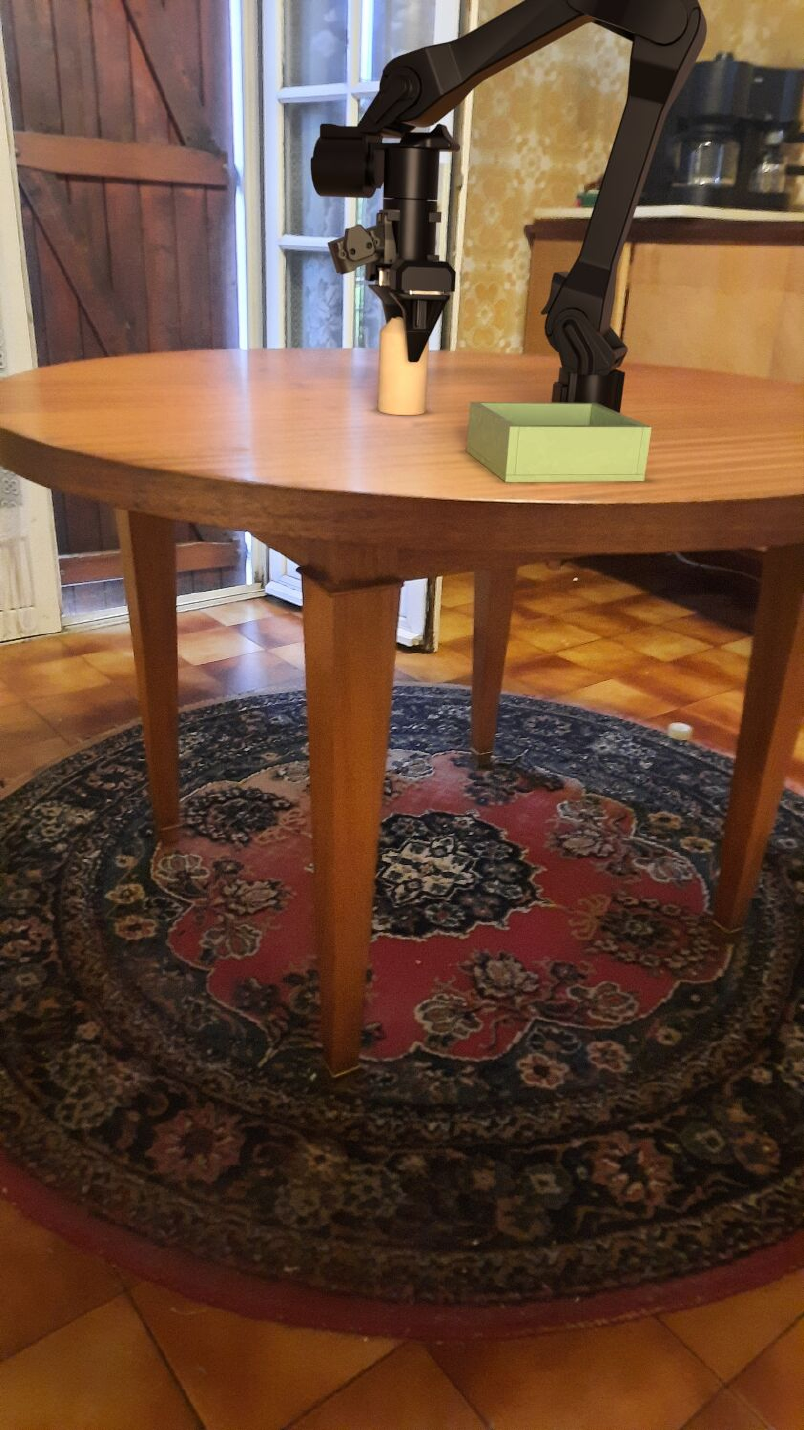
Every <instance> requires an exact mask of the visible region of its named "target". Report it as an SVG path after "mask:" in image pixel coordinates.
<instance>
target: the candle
mask: <svg viewBox="0 0 804 1430" xmlns="http://www.w3.org/2000/svg"><path fill="white" fill-rule="evenodd" d="M429 351H430V339H429V340H428V342H427V344H426V346H425V349H424V351H423V353H422V355H421V357H420V360H419V361H418V362H409V361H408V357H407V349H406V341H405V331H404V322H403V318H401V317H396V318H395V319H394V318H392V319H391V320H390V321H389V322H388V323H387V324H386V323H385V325H384V326H382V328H381V329H380V330H379V341H378V376H377V377H378V378H377V411H378V412H380V413H382V414H389V415H397V416H415V415H423V414H425V413H426V409H427V395H428V394H427V393H428V375H429V374H428V371H429Z"/></svg>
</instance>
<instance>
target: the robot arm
mask: <svg viewBox="0 0 804 1430" xmlns="http://www.w3.org/2000/svg"><path fill="white" fill-rule="evenodd" d="M590 23H591V24H594V25H597V26H599V27H601V28H603V29H605V30H608V32H609V31H610V32H612V33H613V34H616V35H617V36H620V37H621V38H624V39H626V40H628V41H630V42H632V43H631V50H630V57H629V66H628V79H627V93H626V101H625V104H624V107H623V110H622V114H621V117H620V120H619V124H618V127H617V130H616V134H615V137H614V140H613V144H612V146H611V150H610V154H609V157H608V160H607V162H606V165H605V170H604V173H603V176H602V179H601V182H600V186H599V189H598V192H597V195H596V199H595V202H594V206H593V208H592V212H591V215H590V218H589V221H588V225H587V228H586V232H585V234H584V237H583V240H582V244H581V247H580V250H579V253H578V256H577V258H576V259H575V262H574V263H573V265H572V267H571V268H570V270H569V271H567V270H565V271H564V270H563V271H556V272H554V273H553V275H552V279H551V282H550V283H551V284H550V292H549V295H548V299H547V302H546V304H545V306H544V307H543V308H542V310H541V311H540V315H542V316H544V315H546V317H545V320H544V335H545V337H546V339H547V341H548V343H549V345H550V347H552V348H553V350H554V351H555V352H556V353H558V357H559V361H560V366H559V367H558V368H559V370H558V379H557V381H554V382H553V384H552V392H551V393H552V394H551V402H550V403H598V404H600V405H602V406H604V407H607V408H609V409H611V410H614V411H616V412H618V413H620V414H621V409H622V402H623V401H622V400H623V393H624V387H625V385H624V384H625V376H626V371H623V370H621V369H618V368H620V367H621V366H622V364H623V361H624V360H625V357H626V356H627V353H628V352H629V349H628V346H627V345H626V344H625V342H624V341H623V340H622V339H621V337H620V336H619V335H618V333H616V331H615V330H614V329H613V327H612V326H611V323H612V316H613V312H614V311H613V310H614V304H615V299H616V289H617V288H616V287H617V275H618V266H619V262H620V259H621V257H622V252H623V250H624V246H625V243H626V241H627V238H628V234H629V231H630V228H631V225H632V222H633V219H634V217H635V214H636V213H635V212H636V211H637V207H638V204H639V201H640V197H641V194H642V191H643V188H644V185H645V182H646V179H647V177H648V173H649V170H650V167H651V164H652V162H653V161H652V160H653V157H654V154H655V151H656V148H657V145H658V142H659V139H660V136H661V133H662V129H663V127H664V124H665V120H666V117H667V115H668V113H669V111H670V110H671V107H672V106H673V104H674V102H675V100H676V99H677V97H678V95H679V94H680V92H681V90H682V89H683V87H684V86H685V84H686V82H687V80H688V78H689V76H690V74H691V72H692V70H693V67H694V65H695V64H696V62H697V60H698V58H699V56H700V54H701V52H702V51H703V47H704V45H705V43H706V40H707V39H706V38H707V33H708V24H707V19H706V17H705V13H704V12H703V8H702V7H701V5H700V2H699V0H522V1H521V2H519V3H518V4H516V5H514V6H512V7H510V8H509V9H507V10H506V11H504V12H502V13H500V14H498V15H497V16H495V17H494V18H491V19H490V20H488V21H487V22H484V23H483V24H481V25H480V26H478V27H476V28H475V29H472V30H471V31H469V32H468V33H466V34H464V35H463V36H460V37H457V38H455V39H452V40H450V41H446V42H445V41H444V42H441V43H436V44H432V45H427V46H423V47H421V48H417V49H414V50H412V51H409V52H405V53H403V54H401V55H397V56H395V57H393V58H392V59H391V60H390V61H389V62H387V64H385V66H384V67H383V69H382V71H381V72H382V73H381V76H380V80H379V85H378V91H377V93H376V94H375V96H374V98H373V99H372V100H371V102H370V104H369V105H368V107H367V108H366V111H365V112H364V113H363V115H362V116H361V118H360V120H359V121H358V123H357V125H339V124H334V123H321V124H320V125H319V137H318V138H317V139H316V142H315V143H314V147H313V151H312V152H313V153H312V156H310V176H311V182H312V185H313V189H314V191H315V193H316V194H317V195H318V196H319V197H323V198H324V197H325V198H326V197H327V198H350V199H351V198H354V199H371V198H373V197H374V195H375V193H376V191H377V189H383V190H382V191H383V193H382V197H383V198H382V209H379V210H378V212H376V214H375V225H372V226H370V227H369V226H368V227H367V228H365V227H364V226H363V225H362V224H361V223H359V224H358V223H357V224H355V225H354V226H351V227H347V228H345V229H344V233H343V236H340V237H338V238H336V239H333V240H330V241H328V242H327V247H328V251H329V253H330V256H331V259H332V262H333V265H334V269H335V272H336V274H339V275H346V274H349V273H352V272H355V271H356V269H357V268H359V267H362V266H365V267H364V268H365V269H364V273H365V274H364V281H367V282H374V283H369V284H367V287H368V288H369V289H370V290H371V291H372V293H373V294H374V295H376V296H377V297H378V299H379V300H380V302H381V304H382V309H383V315H384V319H385V320H384V321H385V325H386V324H387V323H388V322H389V321H390V320H391V319H392V318H394V319H395V318H396V317H401V318H403V322H404V331H405V341H406V349H407V357H408V361H409V362H418V361H419V360H420V357H421V355H422V353H423V351H424V349H425V346H426V344H427V342H428V340H429V341H430V338H431V336H432V334H433V332H434V329H435V327H436V325H437V322H438V321H439V319H440V317H441V315H442V313H443V310H444V309H445V307H446V306H447V303H448V301H450V300H451V294H448V293H455V292H456V280H457V279H456V277H457V276H456V274H457V272H456V270H455V268H454V267H453V266H452V265H451V264H450V263H449V261H445V260H440V254H436V241H437V240H436V239H437V223H442V215H443V213H442V211H438V198H439V178H440V177H439V174H440V156H441V155H440V154H441V153H458V152H460V150H461V145H460V144H459V142H457V141H456V140H455V138H454V137H453V136H452V135H451V133H450V131H449V129H448V127H447V125H445V124H442V123H439V122H440V121H441V120H442V119H443V118H445V117H446V116H447V115H449V114H450V113H451V112H452V111H453V110H454V109H455V108H457V107H458V106H459V105H460V104H461V103H462V102H463V101H464V100H466V98H467V97H468V96H469V94H470V93H471V92H472V91H473V90H474V89H475V88H476V87H478V86H479V85H480V84H481V83H482V82H484V81H486V80H487V79H489V78H491V77H493V76H495V75H497V74H498V73H500V72H502V71H504V70H505V69H508V68H509V67H511V66H513V65H515V64H516V63H518V62H520V61H522V60H524V59H525V58H527V57H530V55H532V54H535V53H537V52H538V51H540V50H542V49H543V48H545V47H547V46H549V45H551V44H552V43H554V42H556V41H557V40H559V39H561V38H563V37H565V36H567V35H569V34H570V33H572V32H574V31H575V30H578V29H580V28H582V27H583V26H584V25H586V24H590ZM434 125H435V126H434ZM433 126H434V128H433V129H432V130H431V131H430V132H429V131H428V132H427V131H425V132H424V131H423V132H422V131H414V130H415V129H416V128H420V129H426V128H429V127H433ZM384 139H393V140H394V139H396V140H397V139H399V142H383V140H384ZM382 187H383V188H382ZM444 292H445V293H444Z"/></svg>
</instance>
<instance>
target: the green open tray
mask: <svg viewBox="0 0 804 1430" xmlns="http://www.w3.org/2000/svg"><path fill="white" fill-rule="evenodd" d="M467 427H468V428H467V442H466V452H467V453H468V455H471V456H472V457H473V458H474V459H476V460H477V461H478V462H479V463H480V464H481V465H483V466H484V467H486V468H487V469H488V470H489V471H491V472H492V473H493V474H494V475H496V476H497V477H498V478H500V479H501V480H502V481H503V482H504V483H574V482H575V483H578V482H579V483H580V482H581V483H587V482H588V483H589V482H592V483H593V482H595V483H596V482H599V483H600V482H601V483H602V482H603V483H604V482H644V481H645V478H646V470H647V463H648V456H649V449H650V442H651V435H652V430H653V429H652V426H650V425H648V424H645V423H643V422H640V421H638V420H636V419H633V418H632V417H629V416H627V415H625V414H623V413H621V412H620V413H618V412H616V411H614V410H611V409H609V408H607V407H604V406H602V405H600V404H598V403H551V402H544V401H543V402H538V401H537V402H534V401H533V402H531V401H530V402H528V401H527V402H525V401H522V402H521V401H520V402H519V401H469V413H468V425H467Z"/></svg>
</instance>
